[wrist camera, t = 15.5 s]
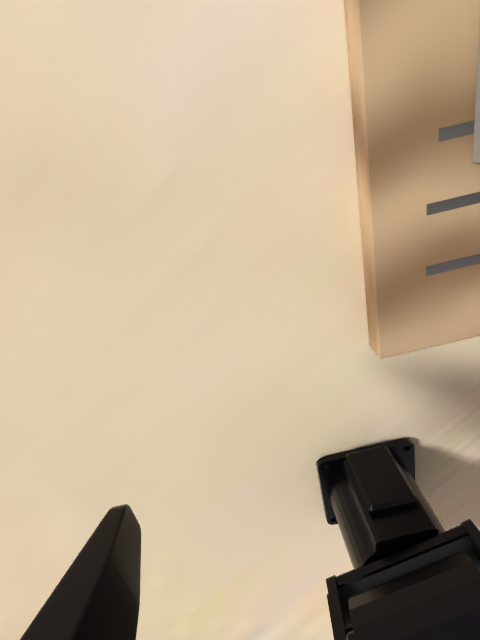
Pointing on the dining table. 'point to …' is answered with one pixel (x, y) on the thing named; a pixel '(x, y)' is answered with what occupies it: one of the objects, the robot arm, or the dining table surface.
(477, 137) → the block
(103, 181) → the dining table surface
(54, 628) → the robot arm
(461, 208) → the oak board
